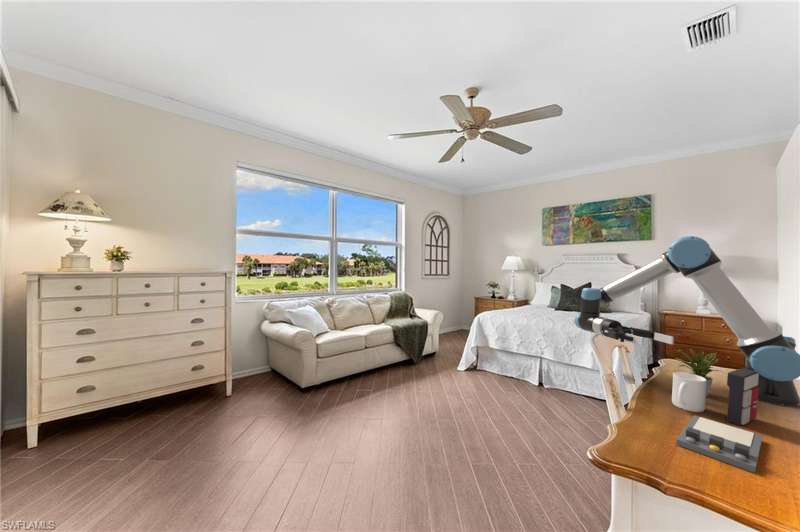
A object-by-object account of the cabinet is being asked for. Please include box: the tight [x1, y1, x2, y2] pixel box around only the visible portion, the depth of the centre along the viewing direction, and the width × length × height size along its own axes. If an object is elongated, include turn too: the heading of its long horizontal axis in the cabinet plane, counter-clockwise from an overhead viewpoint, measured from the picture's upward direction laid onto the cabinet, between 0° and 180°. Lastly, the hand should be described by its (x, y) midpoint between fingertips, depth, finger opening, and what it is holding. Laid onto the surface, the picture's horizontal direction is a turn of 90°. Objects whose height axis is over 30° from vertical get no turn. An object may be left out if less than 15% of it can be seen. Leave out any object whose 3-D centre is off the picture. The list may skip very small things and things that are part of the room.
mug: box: [671, 371, 707, 413], centre depth 107 cm, size 12×8×10 cm
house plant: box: [674, 348, 723, 397], centre depth 121 cm, size 14×14×16 cm
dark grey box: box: [726, 367, 759, 427], centre depth 99 cm, size 11×4×15 cm, turn 117°
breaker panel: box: [676, 415, 763, 474], centre depth 87 cm, size 22×14×4 cm, turn 129°
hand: (658, 341), depth 116 cm, fingers open, 13 cm apart
